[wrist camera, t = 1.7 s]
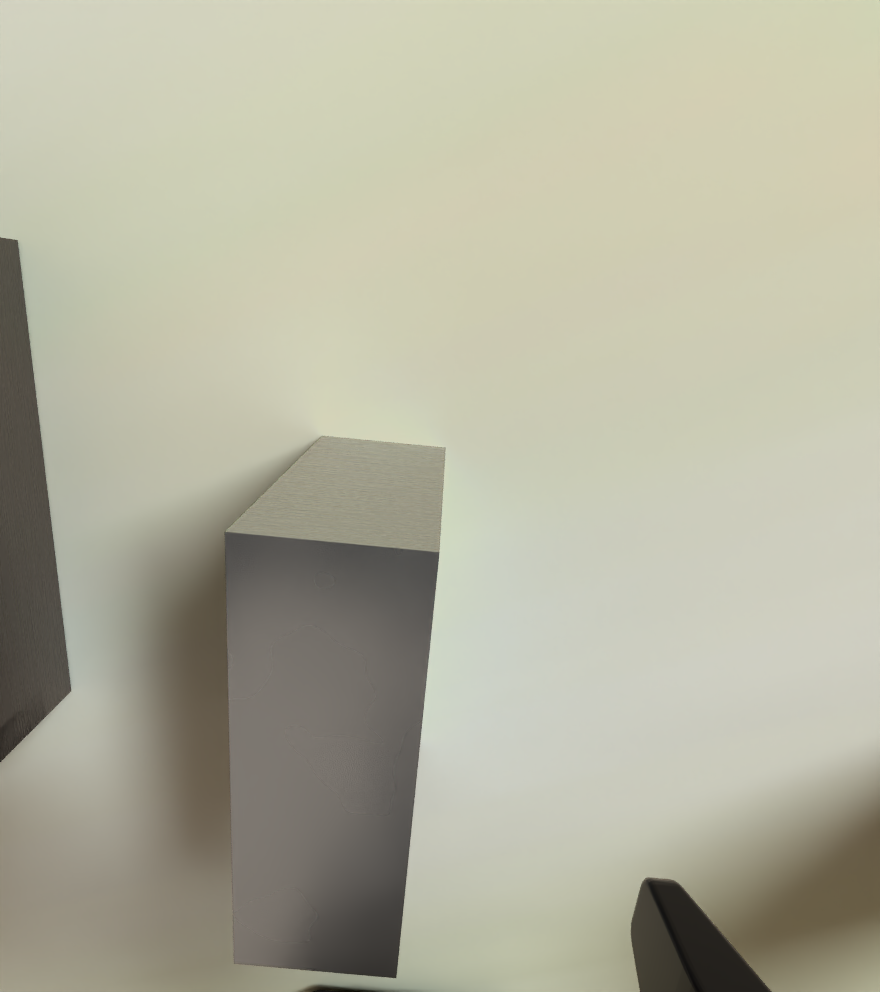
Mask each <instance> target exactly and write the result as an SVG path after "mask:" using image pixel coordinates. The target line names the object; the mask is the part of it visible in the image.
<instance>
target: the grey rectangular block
mask: <svg viewBox="0 0 880 992" xmlns="http://www.w3.org/2000/svg"><path fill="white" fill-rule="evenodd" d="M445 449H446V448H443V447H433V446H422V445H412V444H402V443H391V442H381V441H371V440H360V439H350V438H340V437H329V436H322V437H321V438H320V439H319V440H318V441H316V442H315V443H314V444H313V445H312V446H311V447H310V448H309V449H308V450H307V451H306V452H305V453H304V454H303V455H302V456H301V457H300V458H299V459H298V460H297V461H296V462H295V463H294V464H293V465H292V466H291V467H290V468H289V469H288V470H287V471H286V472H285V473H284V474H283V475H282V476H281V477H280V478H279V479H278V480H277V481H276V482H275V483H274V484H273V485H272V486H271V487H270V488H269V489H268V490H267V491H266V492H265V493H264V494H263V495H262V496H261V497H260V498H259V499H258V500H257V501H256V502H255V503H254V504H253V505H252V506H251V507H249V508H248V509H247V510H246V511H245V512H244V513H243V514H242V515H241V516H240V517H239V518H238V519H237V520H236V521H235V522H234V523H233V524H232V525H231V526H230V527H229V528H228V529H227V530H226V531H225V563H226V611H227V658H228V705H229V752H230V799H231V846H232V893H233V940H234V964H245V965H256V966H267V967H278V968H289V969H300V970H311V971H322V972H333V973H344V974H356V975H367V976H378V977H389V978H396V975H397V965H398V955H399V946H400V936H401V926H402V916H403V906H404V896H405V886H406V876H407V867H408V857H409V847H410V837H411V827H412V817H413V807H414V798H415V788H416V778H417V768H418V758H419V748H420V738H421V729H422V719H423V709H424V699H425V689H426V679H427V669H428V659H429V650H430V640H431V630H432V620H433V610H434V600H435V590H436V581H437V571H438V561H439V550H440V533H441V516H442V499H443V483H444V466H445Z"/></svg>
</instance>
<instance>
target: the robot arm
mask: <svg viewBox="0 0 880 992" xmlns="http://www.w3.org/2000/svg"><path fill="white" fill-rule="evenodd" d="M631 940H632V947H633V953H634V959H635V965H636V971H637V976H638V982H639V988H640V992H771V991H770V989H769V988H768V987H767V986H766V985H765V984H764V982H763V981H762V980H761V979H760V978H759V976H758V975H757V974H756V973H755V972H754V971H753V969H752V968H751V967H750V966H749V965H748V964H747V962H746V961H745V960H744V959H743V958H742V957H741V955H740V954H739V953H738V952H737V951H736V949H735V948H734V947H733V946H732V945H731V944H730V942H729V941H728V940H727V939H726V938H725V937H724V935H723V934H722V933H721V932H720V931H719V930H718V928H717V927H716V926H715V925H714V924H713V922H712V921H711V920H710V919H709V918H708V917H707V915H706V914H705V913H704V912H703V911H702V910H701V908H700V907H699V906H698V905H697V904H696V903H695V901H694V900H693V899H692V898H691V897H690V895H689V894H688V893H687V892H686V891H685V890H684V888H683V887H682V886H681V885H680V884H678V883H677V882H676V881H674V880H670V879H660V878H646V879H645V880H644V881H643V882H642V884H641V887H640V891H639V895H638V899H637V903H636V906H635V910H634V914H633V918H632V923H631ZM314 992H339V991H328V990H317V991H314Z"/></svg>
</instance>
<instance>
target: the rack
mask: <svg viewBox="0 0 880 992" xmlns="http://www.w3.org/2000/svg"><path fill="white" fill-rule="evenodd" d="M70 692H71V685H70V677H69V668H68V660H67V651H66V643H65V635H64V626H63V618H62V609H61V601H60V593H59V584H58V576H57V568H56V559H55V551H54V542H53V534H52V526H51V517H50V509H49V500H48V492H47V484H46V475H45V467H44V458H43V450H42V442H41V433H40V425H39V416H38V408H37V400H36V391H35V383H34V374H33V366H32V358H31V349H30V341H29V333H28V324H27V316H26V307H25V299H24V291H23V282H22V274H21V265H20V257H19V249H18V240H13V239H6V238H0V762H1V761H2V760H3V759H4V758H5V757H6V756H7V755H8V754H9V753H10V752H11V751H12V750H13V749H14V748H15V747H16V746H17V745H18V744H19V743H20V742H21V741H22V740H23V739H24V738H25V737H26V736H27V735H28V734H29V733H30V732H31V731H32V730H33V729H34V728H35V727H36V726H37V725H38V724H39V723H40V722H41V721H42V720H43V719H44V718H45V717H46V716H47V715H48V714H49V713H50V712H51V711H52V710H53V709H54V708H55V707H56V706H57V705H58V704H59V703H60V702H61V701H62V700H63V699H64V698H65V697H66V696H67V695H68V694H69V693H70Z"/></svg>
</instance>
